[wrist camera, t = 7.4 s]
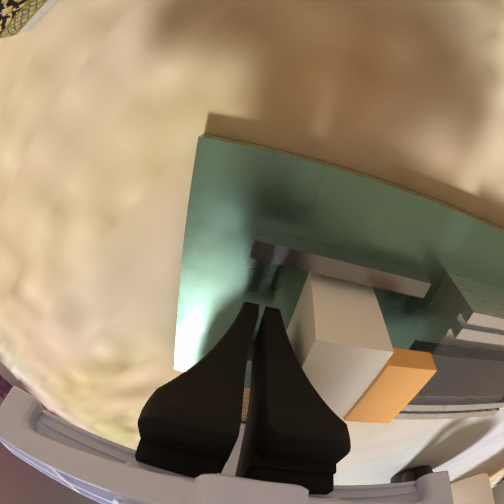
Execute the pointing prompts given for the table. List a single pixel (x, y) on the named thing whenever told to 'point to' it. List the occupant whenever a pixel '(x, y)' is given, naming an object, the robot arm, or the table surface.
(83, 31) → the table surface
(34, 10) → the ceramic cup
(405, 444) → the table surface
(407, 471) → the mug
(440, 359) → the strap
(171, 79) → the table surface
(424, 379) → the block
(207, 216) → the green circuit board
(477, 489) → the cylinder
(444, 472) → the robot arm
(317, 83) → the table surface
